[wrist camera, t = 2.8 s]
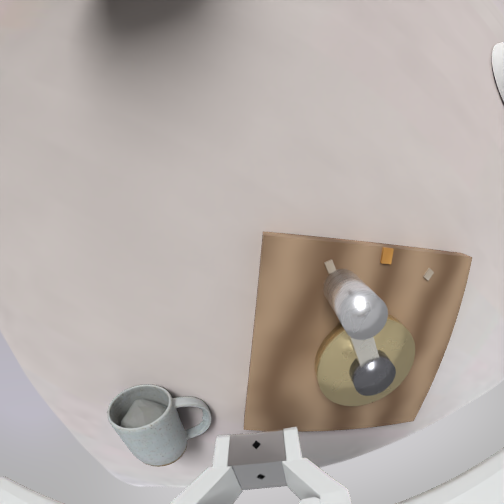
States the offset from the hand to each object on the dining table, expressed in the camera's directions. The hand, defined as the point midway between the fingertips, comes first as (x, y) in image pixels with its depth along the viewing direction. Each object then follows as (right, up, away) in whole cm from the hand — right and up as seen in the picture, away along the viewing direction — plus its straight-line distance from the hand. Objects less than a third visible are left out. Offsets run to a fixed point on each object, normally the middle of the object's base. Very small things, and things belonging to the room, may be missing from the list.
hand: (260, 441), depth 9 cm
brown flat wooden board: (+11, -3, +19) cm, 22 cm away
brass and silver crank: (+9, -1, +16) cm, 19 cm away
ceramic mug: (-10, -11, +22) cm, 27 cm away
